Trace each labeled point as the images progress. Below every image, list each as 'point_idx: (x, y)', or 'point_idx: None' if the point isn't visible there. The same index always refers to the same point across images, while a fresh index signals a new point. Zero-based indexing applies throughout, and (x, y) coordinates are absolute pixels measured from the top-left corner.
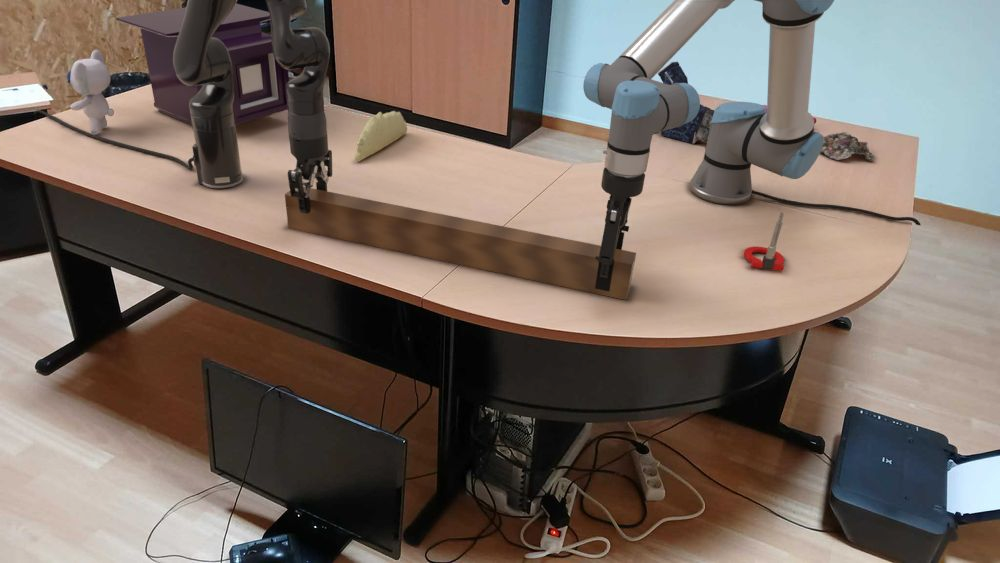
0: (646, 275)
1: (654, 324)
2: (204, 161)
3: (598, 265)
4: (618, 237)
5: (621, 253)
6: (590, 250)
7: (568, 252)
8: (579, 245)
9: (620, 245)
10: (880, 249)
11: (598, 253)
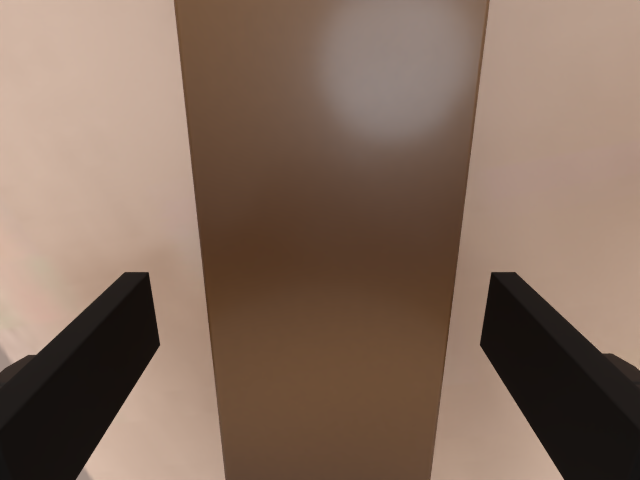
0: (510, 401)
1: (155, 463)
2: None
3: (13, 378)
4: (586, 465)
5: (369, 471)
6: (313, 244)
7: (179, 19)
8: (379, 111)
9: (538, 427)
10: None
11: (288, 321)
